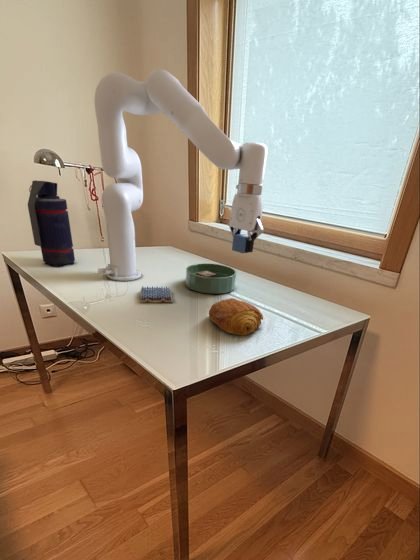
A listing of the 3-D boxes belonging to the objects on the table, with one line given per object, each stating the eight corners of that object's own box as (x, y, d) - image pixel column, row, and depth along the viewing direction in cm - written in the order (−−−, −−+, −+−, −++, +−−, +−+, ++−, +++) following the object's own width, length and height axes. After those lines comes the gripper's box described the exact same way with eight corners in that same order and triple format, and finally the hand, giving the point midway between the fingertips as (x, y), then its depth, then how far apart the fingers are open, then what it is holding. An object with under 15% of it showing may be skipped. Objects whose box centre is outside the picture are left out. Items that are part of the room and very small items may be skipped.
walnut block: (205, 290, 113) (205, 276, 110) (195, 286, 116) (196, 272, 113) (215, 287, 116) (216, 273, 113) (205, 283, 119) (206, 270, 116)
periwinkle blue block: (242, 253, 104) (244, 237, 102) (231, 250, 107) (233, 234, 105) (252, 251, 108) (254, 236, 105) (241, 248, 111) (243, 233, 108)
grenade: (64, 258, 138) (51, 179, 123) (81, 263, 132) (70, 182, 117) (33, 263, 128) (15, 179, 113) (50, 270, 122) (33, 182, 107)
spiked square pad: (139, 303, 100) (139, 297, 99) (140, 291, 109) (140, 285, 108) (173, 303, 101) (173, 297, 100) (171, 291, 110) (171, 286, 109)
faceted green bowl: (209, 298, 107) (210, 281, 104) (175, 283, 118) (176, 267, 115) (244, 288, 118) (246, 272, 115) (210, 275, 129) (211, 261, 126)
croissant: (223, 346, 83) (227, 321, 79) (201, 315, 94) (203, 291, 89) (270, 337, 89) (276, 313, 84) (244, 309, 100) (248, 286, 95)
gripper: (221, 187, 101) (216, 246, 110) (263, 193, 91) (254, 257, 100) (237, 187, 106) (231, 244, 115) (279, 193, 95) (269, 254, 105)
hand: (242, 249), depth 107 cm, fingers closed on periwinkle blue block, 5 cm apart
